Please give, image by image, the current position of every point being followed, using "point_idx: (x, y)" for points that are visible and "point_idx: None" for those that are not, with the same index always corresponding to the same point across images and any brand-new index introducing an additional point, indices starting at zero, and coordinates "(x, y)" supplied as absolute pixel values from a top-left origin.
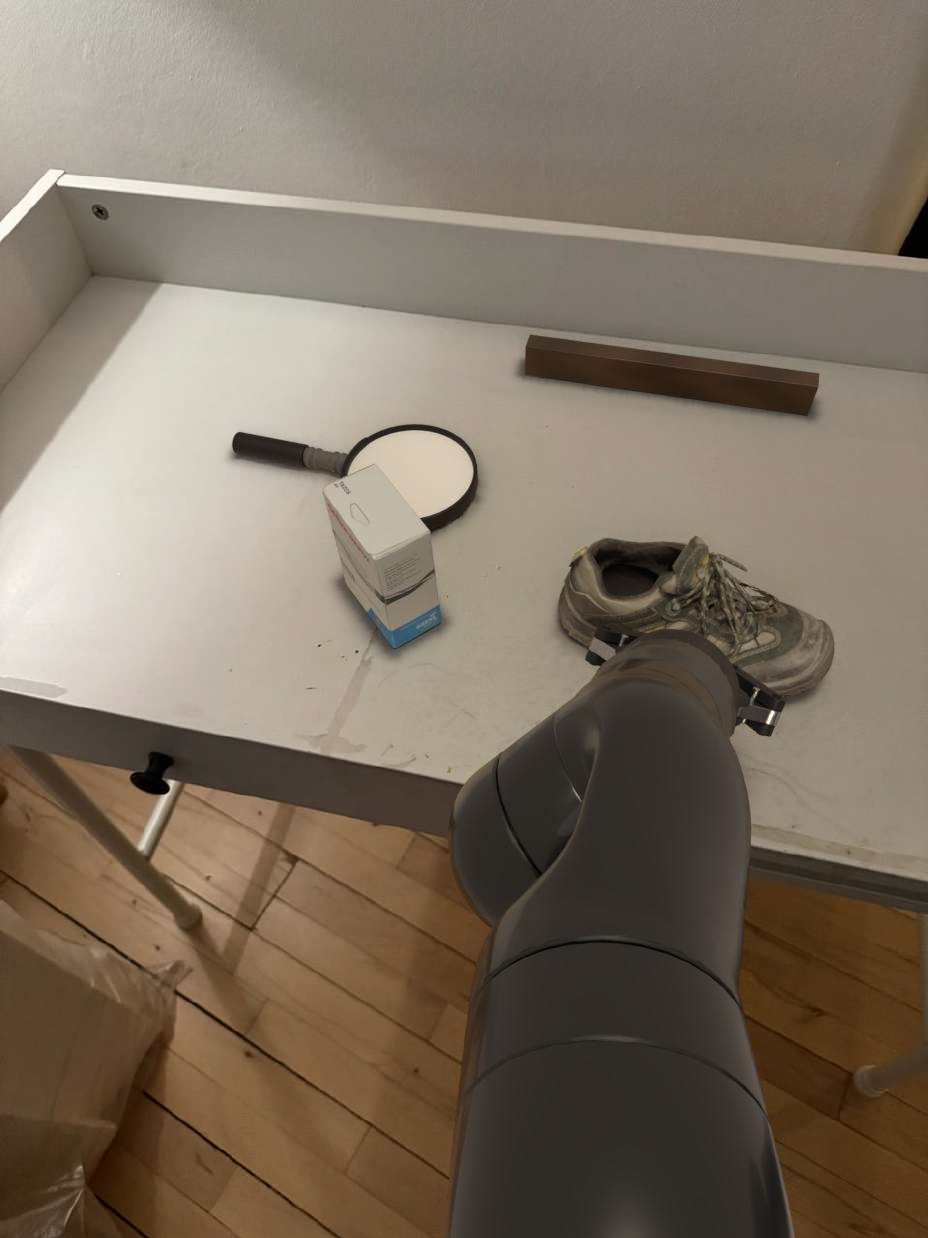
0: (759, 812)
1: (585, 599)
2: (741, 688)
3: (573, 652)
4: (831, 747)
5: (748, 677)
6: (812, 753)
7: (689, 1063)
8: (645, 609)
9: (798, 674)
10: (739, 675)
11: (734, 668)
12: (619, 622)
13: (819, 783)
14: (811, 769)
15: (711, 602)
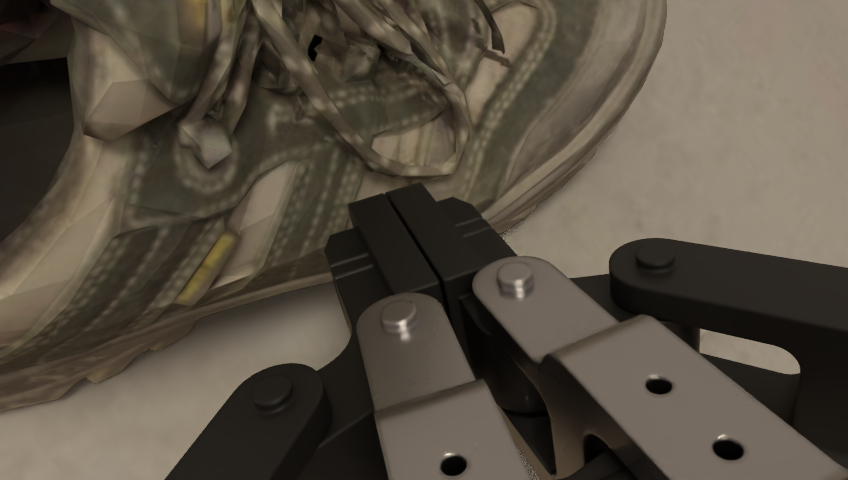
0: None
1: None
2: (835, 375)
3: (39, 442)
4: (745, 165)
5: (800, 290)
6: (730, 209)
7: None
8: (113, 245)
9: (629, 64)
10: (773, 318)
11: (672, 271)
12: (70, 337)
13: None
14: (758, 247)
15: (305, 35)
